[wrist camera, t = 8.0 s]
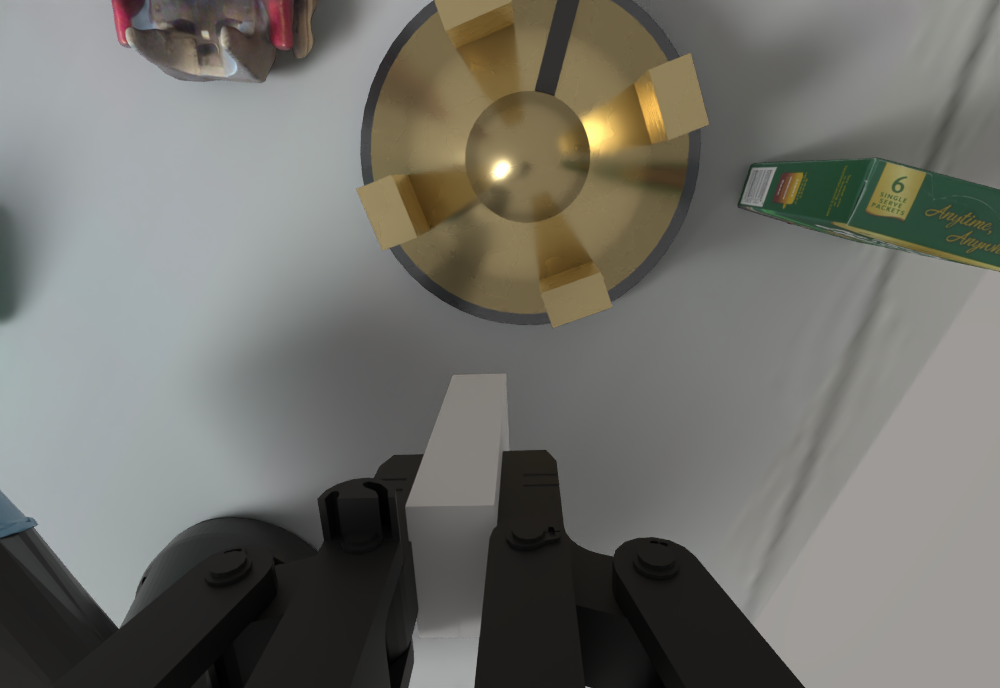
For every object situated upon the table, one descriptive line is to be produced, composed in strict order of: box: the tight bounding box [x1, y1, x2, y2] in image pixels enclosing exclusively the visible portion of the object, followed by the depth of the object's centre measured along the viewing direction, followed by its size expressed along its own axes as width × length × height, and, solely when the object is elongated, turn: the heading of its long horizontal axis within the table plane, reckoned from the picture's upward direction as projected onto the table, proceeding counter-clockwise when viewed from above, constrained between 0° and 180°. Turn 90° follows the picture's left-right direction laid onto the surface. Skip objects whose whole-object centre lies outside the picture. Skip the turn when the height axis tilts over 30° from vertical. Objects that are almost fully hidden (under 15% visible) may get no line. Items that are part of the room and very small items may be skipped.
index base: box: [361, 0, 701, 325], centre depth 31 cm, size 19×19×5 cm
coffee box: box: [738, 158, 1000, 272], centre depth 27 cm, size 8×3×13 cm, turn 75°
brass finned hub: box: [356, 0, 709, 328], centre depth 28 cm, size 16×16×6 cm
